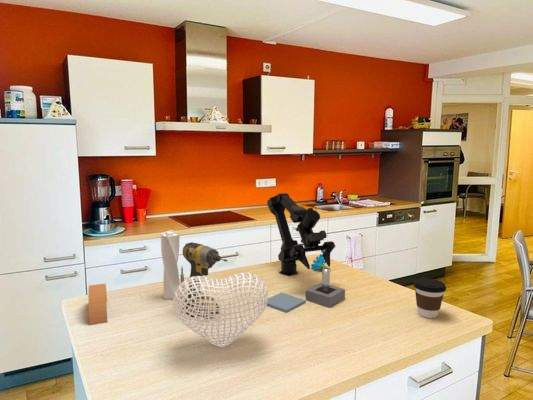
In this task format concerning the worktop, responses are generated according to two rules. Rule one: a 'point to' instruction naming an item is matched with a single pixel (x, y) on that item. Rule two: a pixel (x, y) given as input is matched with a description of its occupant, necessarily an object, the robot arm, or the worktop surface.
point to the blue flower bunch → (318, 263)
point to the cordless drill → (200, 268)
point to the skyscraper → (171, 263)
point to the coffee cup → (429, 296)
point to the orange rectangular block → (97, 304)
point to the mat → (284, 302)
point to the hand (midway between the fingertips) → (319, 267)
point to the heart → (219, 282)
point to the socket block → (325, 295)
